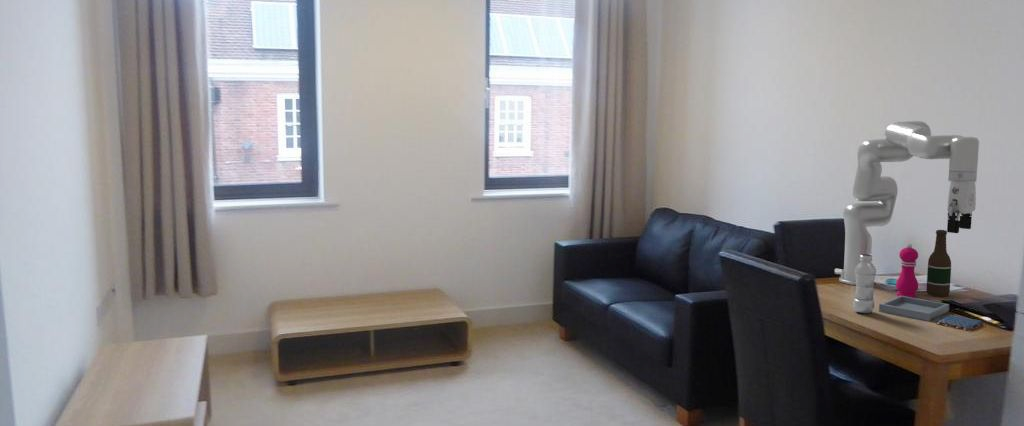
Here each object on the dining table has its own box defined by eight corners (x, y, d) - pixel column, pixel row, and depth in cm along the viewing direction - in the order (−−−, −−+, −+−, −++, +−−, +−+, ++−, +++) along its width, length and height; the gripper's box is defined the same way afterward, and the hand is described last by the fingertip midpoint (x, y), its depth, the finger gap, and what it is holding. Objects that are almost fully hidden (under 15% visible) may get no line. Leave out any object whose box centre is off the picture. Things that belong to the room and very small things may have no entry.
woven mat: (970, 333, 226) (971, 327, 226) (934, 325, 235) (935, 319, 234) (985, 326, 232) (985, 320, 232) (949, 319, 241) (949, 313, 240)
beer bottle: (945, 298, 263) (949, 233, 259) (922, 294, 269) (925, 230, 265) (953, 294, 268) (957, 230, 264) (930, 290, 274) (933, 227, 270)
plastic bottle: (848, 311, 251) (850, 254, 248) (862, 308, 253) (865, 252, 250) (864, 316, 245) (866, 257, 242) (878, 313, 247) (881, 255, 244)
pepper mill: (920, 300, 261) (923, 245, 258) (898, 299, 263) (901, 245, 260) (913, 295, 268) (916, 241, 265) (892, 294, 270) (895, 241, 267)
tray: (879, 311, 250) (879, 304, 249) (899, 302, 260) (899, 295, 259) (929, 321, 237) (929, 313, 237) (948, 311, 247) (949, 304, 247)
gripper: (965, 179, 219) (961, 235, 222) (986, 175, 230) (982, 228, 233) (938, 178, 225) (934, 232, 228) (960, 173, 236) (956, 225, 239)
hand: (959, 230), depth 230 cm, fingers open, 9 cm apart
